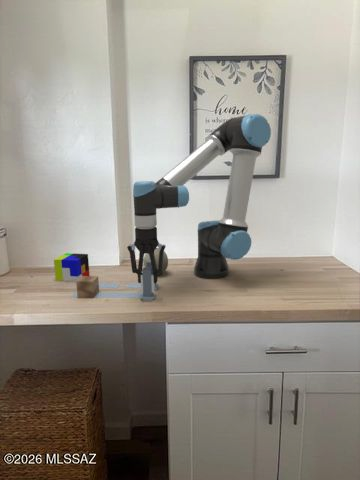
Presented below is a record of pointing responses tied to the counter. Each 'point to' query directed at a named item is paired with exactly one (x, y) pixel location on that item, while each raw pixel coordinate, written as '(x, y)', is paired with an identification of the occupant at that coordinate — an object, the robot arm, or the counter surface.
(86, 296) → the cube
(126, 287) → the lane
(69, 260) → the puzzle toy
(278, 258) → the counter surface
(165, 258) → the fruit
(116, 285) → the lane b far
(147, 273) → the strip
